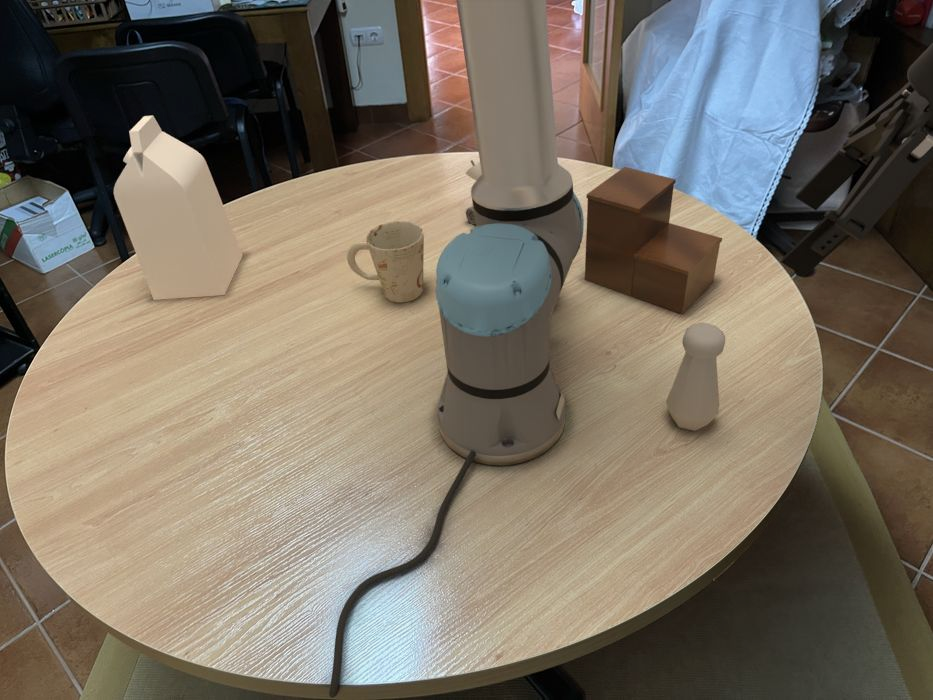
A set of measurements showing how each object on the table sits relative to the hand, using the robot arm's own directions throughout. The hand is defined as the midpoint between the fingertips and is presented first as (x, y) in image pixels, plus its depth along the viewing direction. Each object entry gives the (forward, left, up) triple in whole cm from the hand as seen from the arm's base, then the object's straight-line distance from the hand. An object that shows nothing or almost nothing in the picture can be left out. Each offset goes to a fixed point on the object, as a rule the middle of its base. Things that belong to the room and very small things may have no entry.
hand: (799, 233), depth 74 cm
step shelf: (+10, +22, -20) cm, 31 cm away
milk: (-29, +83, -20) cm, 90 cm away
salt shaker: (-13, +4, -20) cm, 24 cm away
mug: (-14, +53, -20) cm, 58 cm away
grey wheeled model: (+14, +50, -20) cm, 55 cm away
